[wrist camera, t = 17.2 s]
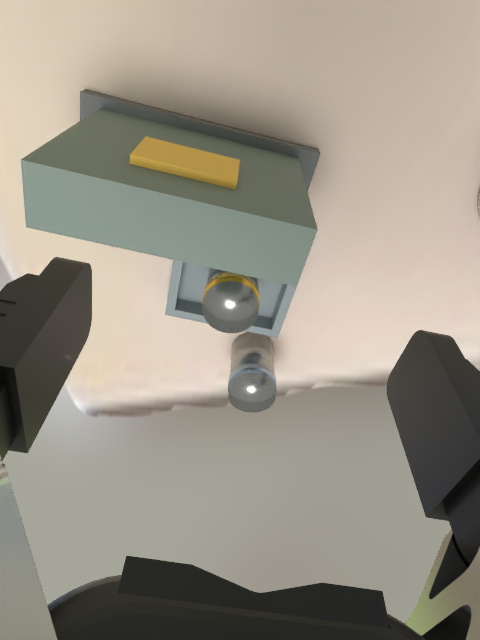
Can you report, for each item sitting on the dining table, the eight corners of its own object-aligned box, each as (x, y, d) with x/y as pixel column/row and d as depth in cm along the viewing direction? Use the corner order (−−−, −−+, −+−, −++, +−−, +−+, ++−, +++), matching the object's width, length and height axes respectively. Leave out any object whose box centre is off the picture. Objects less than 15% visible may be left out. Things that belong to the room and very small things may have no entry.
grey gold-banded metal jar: (252, 292, 40) (251, 338, 35) (205, 282, 40) (196, 327, 34) (265, 250, 38) (266, 293, 32) (214, 239, 37) (206, 280, 32)
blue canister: (279, 336, 44) (282, 384, 39) (267, 367, 47) (269, 416, 41) (236, 327, 44) (233, 374, 38) (227, 359, 47) (223, 408, 41)
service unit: (318, 149, 33) (349, 223, 22) (298, 209, 36) (317, 302, 25) (84, 89, 31) (-13, 136, 20) (84, 157, 34) (-2, 232, 23)
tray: (311, 224, 37) (314, 236, 35) (276, 322, 43) (277, 337, 41) (186, 194, 36) (182, 205, 34) (169, 299, 42) (165, 314, 40)
